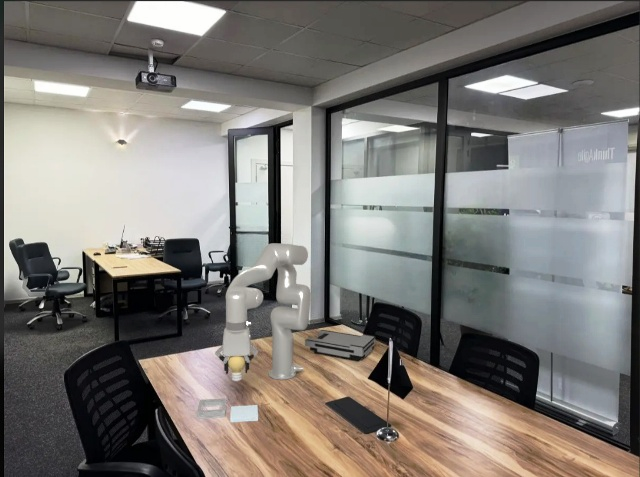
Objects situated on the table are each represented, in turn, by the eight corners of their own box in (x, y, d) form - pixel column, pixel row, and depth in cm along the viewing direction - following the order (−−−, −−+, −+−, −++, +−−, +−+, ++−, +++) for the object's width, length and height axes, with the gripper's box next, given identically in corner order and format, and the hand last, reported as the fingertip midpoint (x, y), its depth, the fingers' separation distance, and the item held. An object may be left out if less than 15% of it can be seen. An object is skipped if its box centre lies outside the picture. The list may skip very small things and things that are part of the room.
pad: (257, 407, 165) (257, 404, 165) (258, 420, 155) (258, 418, 155) (231, 409, 163) (231, 406, 163) (230, 422, 153) (230, 419, 153)
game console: (321, 341, 244) (321, 327, 243) (374, 350, 231) (375, 336, 230) (304, 352, 225) (305, 337, 224) (362, 363, 212) (362, 347, 211)
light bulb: (241, 384, 155) (241, 358, 154) (225, 382, 156) (224, 356, 155) (248, 377, 161) (248, 351, 160) (232, 375, 162) (232, 350, 161)
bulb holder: (226, 404, 166) (226, 398, 166) (224, 417, 157) (224, 410, 157) (200, 405, 165) (200, 399, 165) (197, 418, 155) (197, 412, 155)
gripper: (260, 321, 161) (260, 367, 163) (213, 322, 159) (214, 369, 161) (260, 327, 154) (260, 375, 156) (211, 329, 151) (211, 377, 153)
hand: (236, 371), depth 158 cm, fingers closed on light bulb, 6 cm apart
